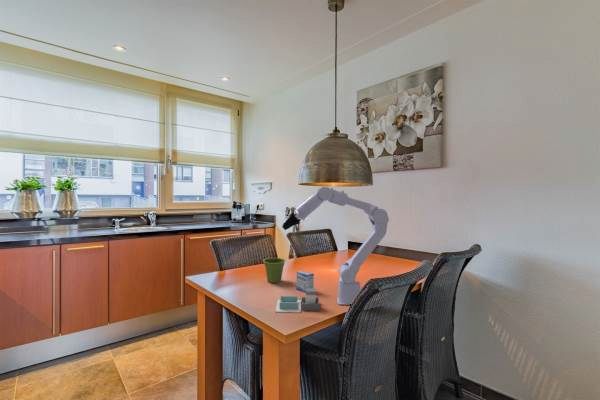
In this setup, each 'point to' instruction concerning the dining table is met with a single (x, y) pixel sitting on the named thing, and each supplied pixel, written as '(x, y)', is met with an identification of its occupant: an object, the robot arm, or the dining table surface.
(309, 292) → the plug
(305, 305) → the grey arch stand
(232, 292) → the dining table surface
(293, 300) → the port
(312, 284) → the medicine box
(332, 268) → the dining table surface
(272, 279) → the plant pot
